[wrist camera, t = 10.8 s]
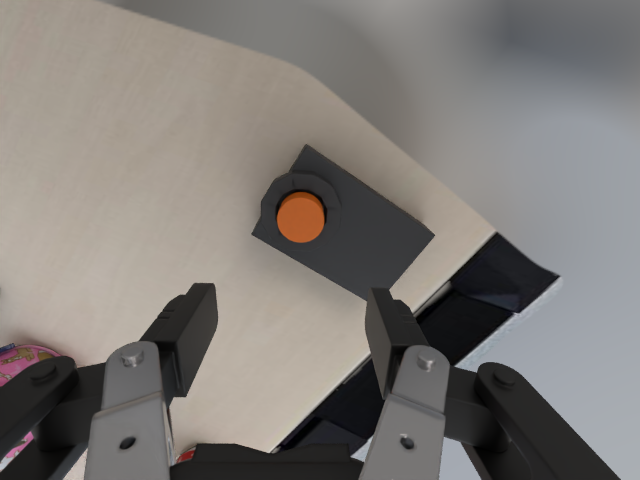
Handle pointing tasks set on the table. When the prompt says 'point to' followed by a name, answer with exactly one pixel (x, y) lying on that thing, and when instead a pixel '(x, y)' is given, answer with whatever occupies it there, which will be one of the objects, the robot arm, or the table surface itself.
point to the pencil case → (8, 364)
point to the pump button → (300, 217)
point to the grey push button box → (344, 227)
